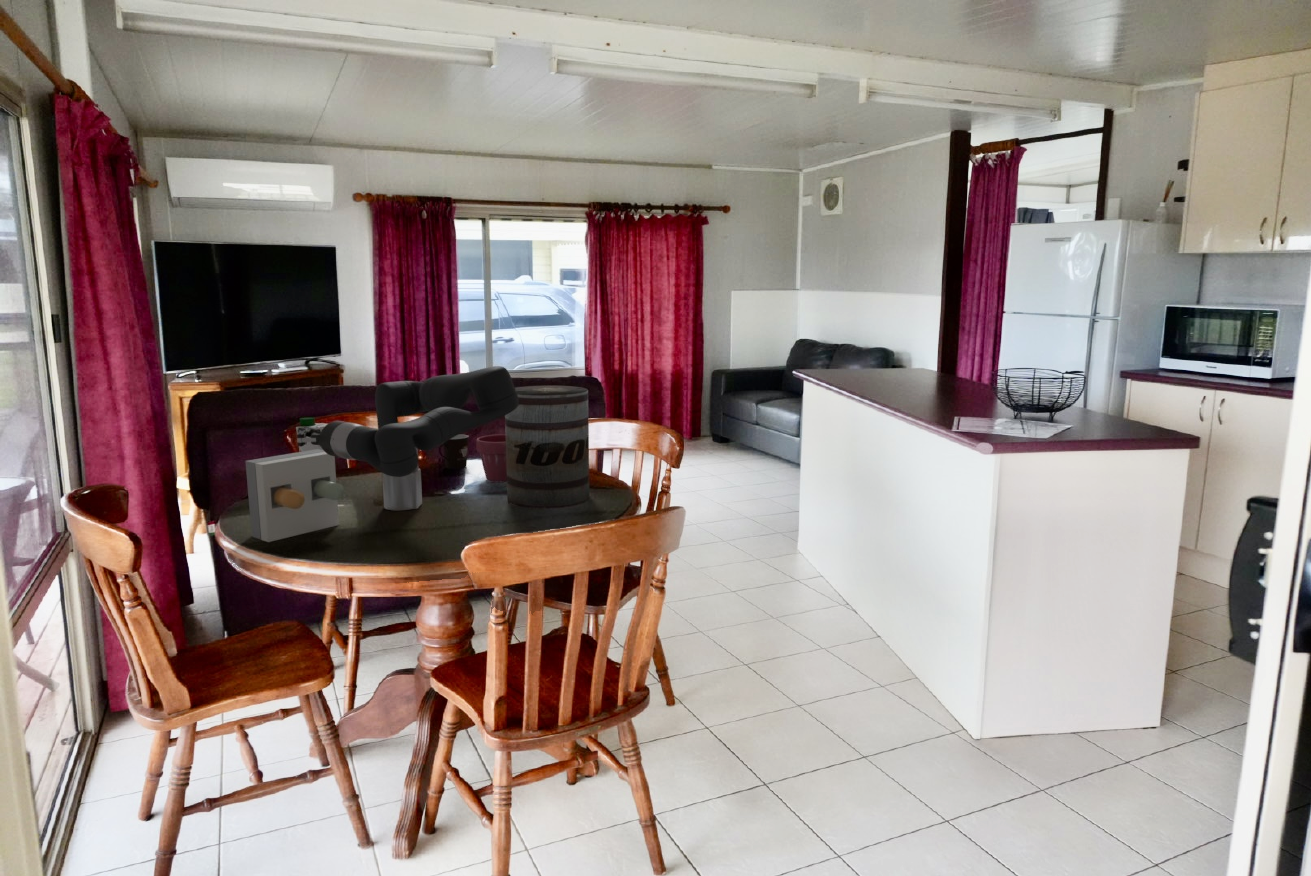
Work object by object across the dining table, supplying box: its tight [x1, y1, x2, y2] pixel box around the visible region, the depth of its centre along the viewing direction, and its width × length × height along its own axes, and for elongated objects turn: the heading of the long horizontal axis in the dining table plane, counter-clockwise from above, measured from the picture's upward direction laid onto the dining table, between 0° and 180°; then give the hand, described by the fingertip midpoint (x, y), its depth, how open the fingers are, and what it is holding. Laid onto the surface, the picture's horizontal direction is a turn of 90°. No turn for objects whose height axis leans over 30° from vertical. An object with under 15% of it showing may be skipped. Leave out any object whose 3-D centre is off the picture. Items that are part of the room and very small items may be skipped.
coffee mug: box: [438, 433, 469, 470], centre depth 273 cm, size 12×9×10 cm
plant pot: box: [476, 433, 507, 483], centre depth 257 cm, size 14×14×13 cm
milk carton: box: [295, 416, 328, 452], centre depth 247 cm, size 9×9×20 cm
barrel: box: [504, 385, 590, 510], centre depth 232 cm, size 22×22×30 cm
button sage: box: [314, 480, 345, 501], centre depth 201 cm, size 6×4×4 cm, turn 53°
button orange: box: [274, 488, 305, 509], centre depth 193 cm, size 6×4×4 cm, turn 53°
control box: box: [245, 449, 340, 543], centre depth 201 cm, size 7×18×18 cm, turn 143°
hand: (302, 431), depth 187 cm, fingers closed
